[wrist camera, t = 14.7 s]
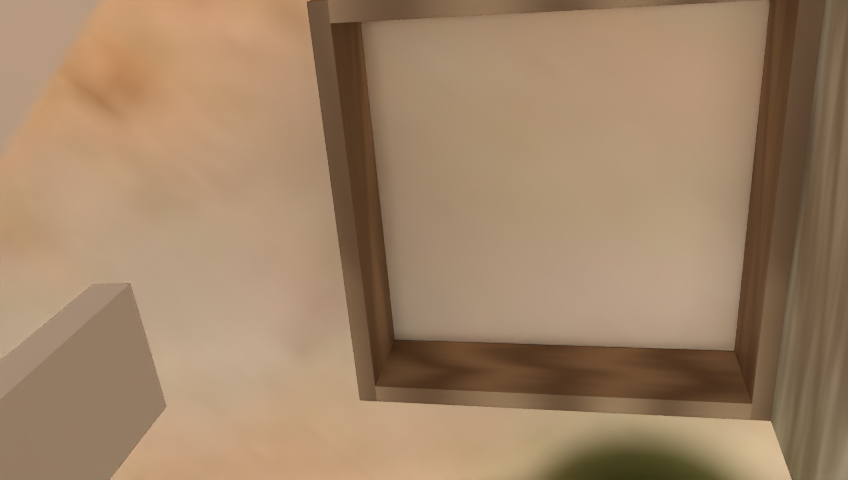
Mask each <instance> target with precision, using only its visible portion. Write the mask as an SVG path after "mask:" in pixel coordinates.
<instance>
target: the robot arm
mask: <svg viewBox="0 0 848 480" xmlns="http://www.w3.org/2000/svg"><path fill="white" fill-rule="evenodd" d="M165 408H166V403H165V400H164V396H163V393H162V389H161V386H160V383H159V379H158V376H157V372H156V369H155V366H154V362H153V359H152V355H151V352H150V349H149V345H148V342H147V338H146V335H145V332H144V328H143V325H142V322H141V318H140V315H139V311H138V308H137V305H136V301H135V298H134V294H133V291H132V288H131V284H130V283H121V284H93V285H92V286H90V287H89V288H88V289H87V290H86V291H84V292H83V293H82V294H81V295H80V296H78V297H77V298H76V299H75V300H73V301H72V302H71V303H70V304H69V305H67V306H66V307H65V308H64V309H63V310H61V311H60V312H59V313H58V314H57V315H55V316H54V317H53V318H52V319H50V320H49V321H48V322H47V323H46V324H44V325H43V326H42V327H41V328H40V329H38V330H37V331H36V332H35V333H34V334H32V335H31V336H30V337H29V338H27V339H26V340H25V341H24V342H23V343H21V344H20V345H19V346H18V347H17V348H15V349H14V350H13V351H12V352H11V353H9V354H8V355H7V356H6V357H4V358H3V359H2V360H1V361H0V480H110V478H111V477H112V476H113V475H114V473H115V472H116V471H117V469H118V468H119V467H120V466H121V464H122V463H123V462H124V460H125V459H126V458H127V457H128V455H129V454H130V453H131V451H132V450H133V449H134V448H135V446H136V445H137V444H138V442H139V441H140V440H141V438H142V437H143V436H144V435H145V433H146V432H147V431H148V429H149V428H150V427H151V426H152V424H153V423H154V422H155V420H156V419H157V418H158V417H159V415H160V414H161V413H162V411H163V410H164V409H165Z"/></svg>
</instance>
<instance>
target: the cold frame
mask: <svg viewBox="0 0 848 480" xmlns="http://www.w3.org/2000/svg"><path fill="white" fill-rule="evenodd" d="M734 1H753V0H310V1H308V2H307V7H308V15H309V22H310V30H311V37H312V45H313V52H314V60H315V67H316V75H317V82H318V90H319V97H320V105H321V112H322V120H323V127H324V135H325V142H326V150H327V157H328V165H329V172H330V180H331V187H332V195H333V202H334V210H335V217H336V224H337V232H338V239H339V247H340V254H341V262H342V269H343V277H344V284H345V292H346V299H347V307H348V314H349V322H350V329H351V337H352V344H353V352H354V359H355V367H356V374H357V382H358V389H359V397H360V400H364V401H384V402H404V403H424V404H444V405H464V406H484V407H504V408H524V409H543V410H563V411H583V412H603V413H623V414H643V415H663V416H683V417H703V418H723V419H743V420H763V421H771V423H772V425H773V428H774V431H775V434H776V436H777V439H778V442H779V445H780V448H781V450H782V453H783V456H784V459H785V462H786V464H787V467H788V470H789V473H790V476H791V478H792V480H848V0H770V9H769V19H768V29H767V38H766V48H765V58H764V68H763V77H762V87H761V97H760V107H759V117H758V126H757V136H756V146H755V156H754V166H753V175H752V185H751V195H750V205H749V215H748V224H747V234H746V244H745V254H744V263H743V273H742V283H741V293H740V303H739V312H738V322H737V332H736V342H735V351H710V350H680V349H650V348H620V347H589V346H559V345H529V344H499V343H469V342H439V341H409V340H394V331H393V321H392V312H391V303H390V293H389V284H388V275H387V265H386V256H385V247H384V237H383V228H382V219H381V210H380V200H379V191H378V182H377V172H376V163H375V154H374V144H373V135H372V126H371V116H370V107H369V98H368V88H367V79H366V70H365V60H364V51H363V42H362V33H361V23H360V22H363V21H382V20H400V19H419V18H437V17H456V16H475V15H493V14H512V13H530V12H549V11H567V10H586V9H604V8H623V7H641V6H660V5H678V4H697V3H716V2H734Z"/></svg>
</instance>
